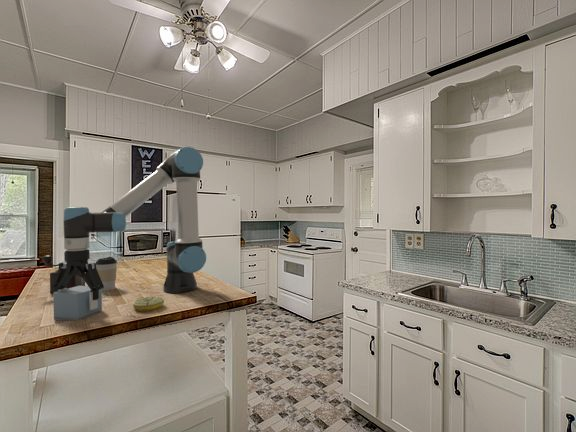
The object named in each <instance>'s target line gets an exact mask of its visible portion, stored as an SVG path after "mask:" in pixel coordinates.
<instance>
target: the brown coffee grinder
mask: <svg viewBox="0 0 576 432" xmlns="http://www.w3.org/2000/svg"><path fill="white" fill-rule="evenodd" d="M53 259H54V258H53V256H52V255H49V254H48V255H43V257H42V258H41V261H42V262H43V263H44V267H59V263H57V264H53V262H52V261H53ZM63 262H67V261H65V260H64V261H63ZM57 272H58V269H57V270H55V271H52V272H50V273H49V294H53V293H54V292H57V289H56V288H55V287H54V288H53V287H52V284H53V282H54V279H55V277H56V274H57ZM76 286H86V282H85V281H84V279H83V278H82V277H80V276H76V275H73V276H72V278H71V279H70V280H69V282H68V283H67V285H66V287H65V288H67V289H69V288H73V287H76Z"/></svg>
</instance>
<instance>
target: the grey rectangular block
mask: <svg viewBox="0 0 576 432" xmlns="http://www.w3.org/2000/svg"><path fill="white" fill-rule="evenodd" d="M94 288H95V287H94ZM90 291H91V289H90V288H89V286H88V285H85V286H76V287H73V288H69V289H65V290H61V291H58V292H54V293H52V295H53V298H52V299H53V300H52V301H53V318H54V317H60V318H72V319H77V320H80V319H79V318H81V317H84V316H87V315H89V314H92V313H94V312H97V311H100V310H101V311H103V301H102V299H103V296H102V294H103V293H102V292H103V291H102V289H100V290H99V299H98V308H96V309H93V310H90V302H89V292H90ZM101 311H100V312H101Z"/></svg>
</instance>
